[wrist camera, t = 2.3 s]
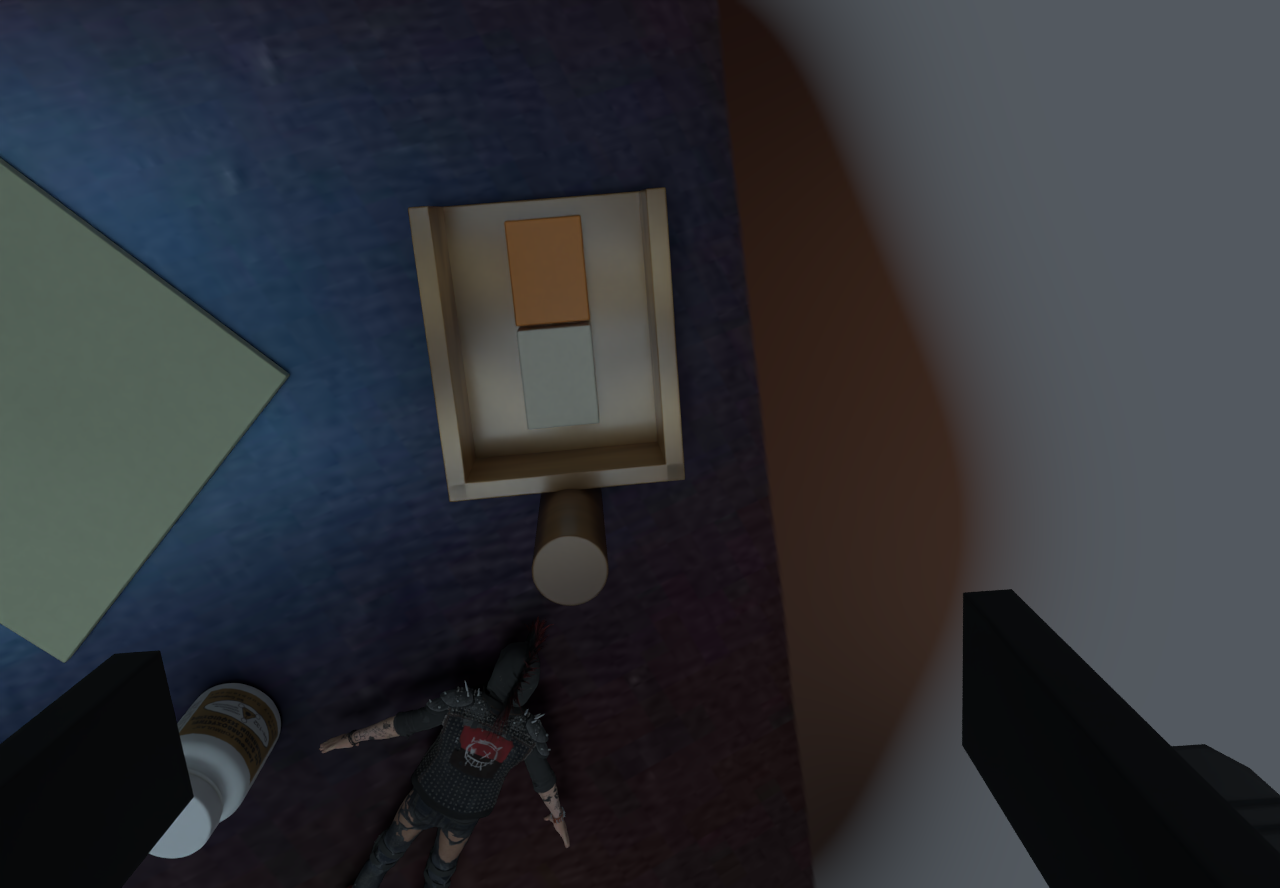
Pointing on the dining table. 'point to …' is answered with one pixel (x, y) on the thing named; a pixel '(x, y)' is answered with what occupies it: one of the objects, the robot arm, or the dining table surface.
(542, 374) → the block
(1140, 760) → the robot arm
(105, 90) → the dining table surface
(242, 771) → the pill bottle
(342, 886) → the dining table surface
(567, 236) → the block
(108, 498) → the placemat
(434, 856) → the figurine
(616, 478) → the open wooden box
